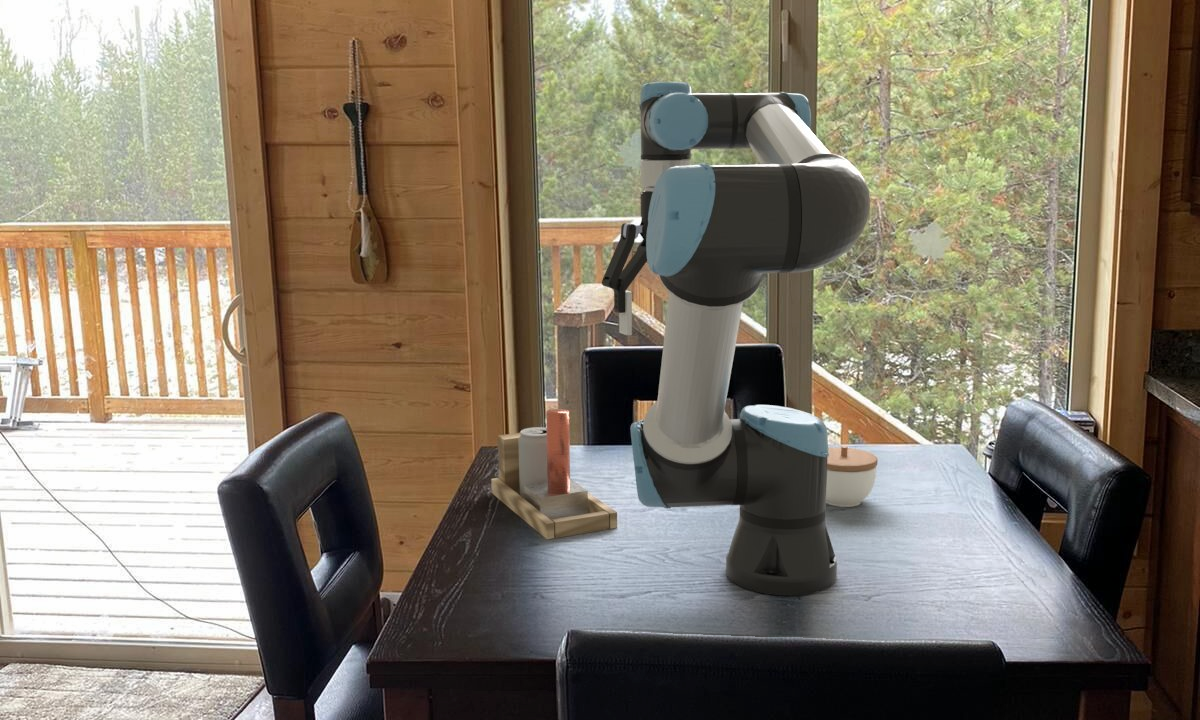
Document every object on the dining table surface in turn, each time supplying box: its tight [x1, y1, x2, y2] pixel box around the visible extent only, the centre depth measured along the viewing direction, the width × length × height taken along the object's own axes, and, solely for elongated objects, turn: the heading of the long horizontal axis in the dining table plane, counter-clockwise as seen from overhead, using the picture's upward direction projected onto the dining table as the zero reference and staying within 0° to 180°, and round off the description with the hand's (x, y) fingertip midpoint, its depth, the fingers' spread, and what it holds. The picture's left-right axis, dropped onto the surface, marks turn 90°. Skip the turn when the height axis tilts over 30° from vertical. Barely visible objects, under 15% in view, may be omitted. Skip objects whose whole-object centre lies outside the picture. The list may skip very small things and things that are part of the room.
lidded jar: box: [826, 445, 879, 508], centre depth 184 cm, size 11×11×9 cm
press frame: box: [490, 432, 618, 540], centre depth 181 cm, size 25×12×10 cm, turn 25°
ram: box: [524, 408, 589, 521], centre depth 179 cm, size 7×8×17 cm
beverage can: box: [518, 426, 548, 498], centre depth 186 cm, size 6×6×12 cm
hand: (665, 330), depth 170 cm, fingers open, 13 cm apart
